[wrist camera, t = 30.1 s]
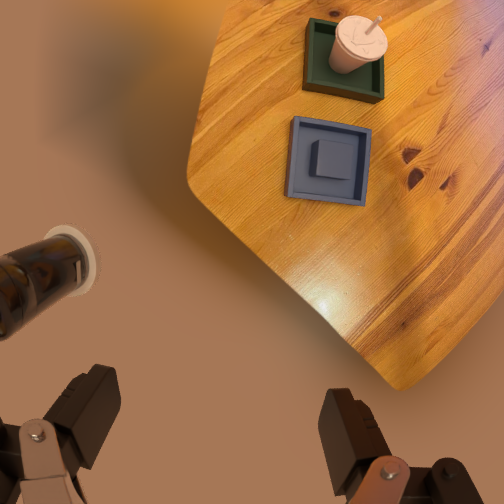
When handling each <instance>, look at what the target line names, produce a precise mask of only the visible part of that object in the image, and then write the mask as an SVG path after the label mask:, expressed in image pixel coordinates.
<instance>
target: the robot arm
mask: <svg viewBox="0 0 504 504" xmlns="http://www.w3.org/2000/svg"><path fill="white" fill-rule="evenodd" d="M88 274H89V260H88V256H87V253H86V250H85V248H84V247H83V245H82V244H81V243H80V241H79V240H78V239H77V238H75V237H74V236H72V235H70V234H66V233H60V234H57V235H54V236H52V237H50V238H47V239H44V240H42V241H39V242H36V243H33V244H31V245H28V246H25V247H23V248H20V249H17V250H15V251H12V252H9V253H7V254H5V255H2V256H0V341H1V342H2V341H5V340H7V339H9V338H11V337H12V336H13V335H14V334H16V333H17V332H18V331H19V330H21V329H22V328H23V327H25V326H26V325H27V324H29V323H30V322H31V321H32V320H34V319H35V318H36V317H38V316H39V315H41V314H42V313H43V312H44V311H46V310H47V309H49V308H50V307H51V306H53V305H54V304H56V303H57V302H58V301H60V300H61V299H62V298H64V297H65V296H67V295H68V294H70V293H71V292H73V291H74V290H76V289H78V288H79V287H81V286H82V285H83V284H84V283H85V281H86V280H87V277H88ZM120 406H121V396H120V391H119V386H118V381H117V375H116V371H115V369H114V368H113V367H109V366H104V365H100V364H95V365H94V366H93V367H92V368H91V370H90V371H89V372H88V374H85V373H82V374H80V375H79V376H77V377H75V378H74V379H73V380H72V381H71V382H70V383H69V384H68V386H67V387H66V389H65V390H64V391H63V392H62V395H61V396H59V397H58V399H57V400H56V401H55V403H54V404H53V405H52V407H51V408H50V409H49V411H48V412H47V413H46V415H45V416H44V417H43V419H32V420H29V421H27V422H25V423H24V424H23V425H22V426H15V425H9V424H4V423H3V422H2V420H1V418H0V504H16V502H17V499H18V497H19V495H20V493H22V498H23V502H24V504H89V502H88V500H87V497H86V495H85V492H84V489H83V487H82V485H81V482H80V479H79V476H78V474H77V471H78V470H79V468H80V467H83V468H86V469H89V470H91V468H92V466H93V464H94V461H95V459H96V457H97V455H98V453H99V451H100V449H101V447H102V445H103V443H104V441H105V439H106V437H107V435H108V432H109V430H110V428H111V426H112V424H113V422H114V420H115V418H116V416H117V414H118V412H119V410H120ZM318 429H319V434H320V438H321V442H322V446H323V450H324V454H325V458H326V462H327V466H328V469H329V474H330V478H331V482H332V486H333V490H334V494H335V496H341V495H346V499H347V502H346V503H345V504H484V503H483V501H482V499H481V497H480V495H479V493H478V491H477V489H476V487H475V485H474V483H473V482H472V480H471V478H470V476H469V474H468V472H467V470H466V468H465V467H464V465H463V464H462V463H461V462H460V461H458V460H456V459H454V458H442V459H439V460H438V461H436V462H435V464H434V465H433V466H432V468H422V467H421V468H420V467H409V466H408V464H407V463H406V462H405V461H404V460H402V459H401V458H399V457H396V456H392V454H391V452H390V450H389V448H388V445H387V443H386V441H385V439H384V437H383V435H382V433H381V431H380V428H379V427H378V424H377V422H376V420H374V416H373V414H372V412H371V410H370V408H369V407H368V406H367V405H366V404H364V403H363V402H362V401H361V400H354V398H353V396H352V394H351V392H350V390H349V389H348V388H334V389H328V391H327V393H326V396H325V400H324V403H323V406H322V409H321V413H320V416H319V421H318Z"/></svg>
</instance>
